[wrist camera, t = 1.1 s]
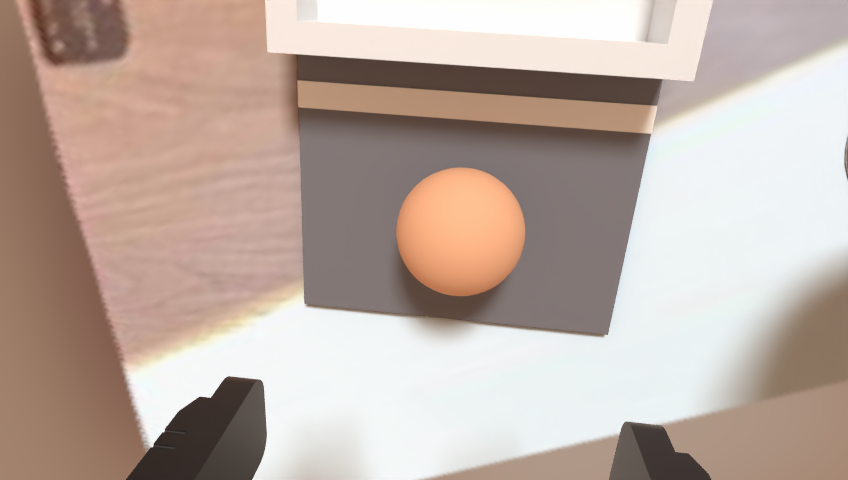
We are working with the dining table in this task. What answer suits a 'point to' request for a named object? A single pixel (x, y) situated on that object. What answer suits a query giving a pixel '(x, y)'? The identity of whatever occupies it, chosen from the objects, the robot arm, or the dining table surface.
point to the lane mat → (478, 149)
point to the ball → (460, 231)
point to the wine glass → (846, 158)
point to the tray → (501, 33)
